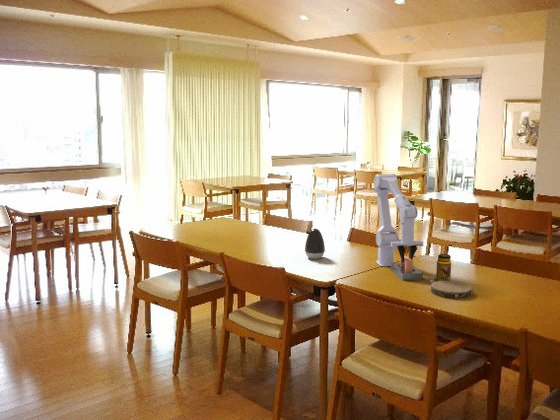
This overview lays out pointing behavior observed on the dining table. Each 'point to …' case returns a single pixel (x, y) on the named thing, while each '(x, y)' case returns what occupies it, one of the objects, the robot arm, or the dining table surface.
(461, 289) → the gray brown round disc
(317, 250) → the pump dispenser
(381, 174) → the robot arm
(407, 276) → the gray block with cutout
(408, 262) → the tall salmon pink prism
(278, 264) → the dining table surface
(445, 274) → the condiment
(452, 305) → the dining table surface
